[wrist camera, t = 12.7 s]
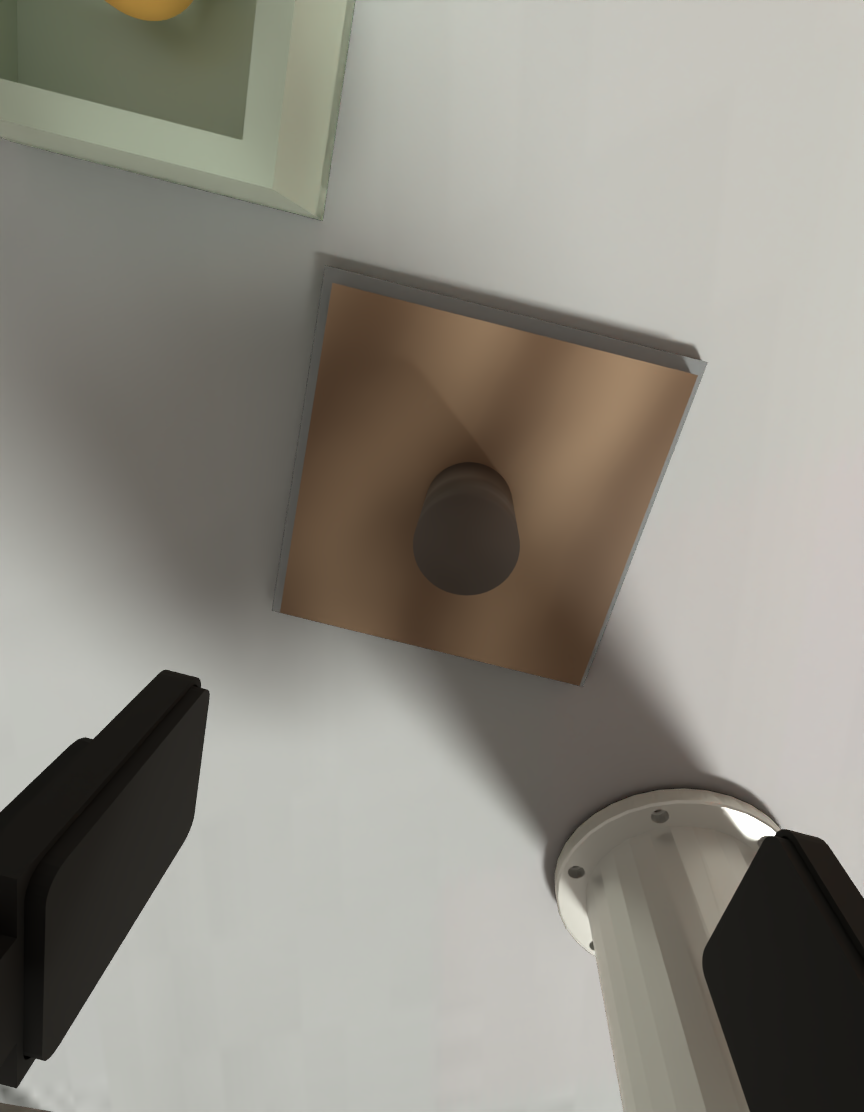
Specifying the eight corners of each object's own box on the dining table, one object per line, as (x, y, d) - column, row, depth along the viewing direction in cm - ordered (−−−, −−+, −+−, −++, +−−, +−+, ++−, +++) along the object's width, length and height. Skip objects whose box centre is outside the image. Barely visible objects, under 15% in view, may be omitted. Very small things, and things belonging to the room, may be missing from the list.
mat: (702, 361, 24) (707, 362, 23) (580, 679, 29) (582, 686, 29) (328, 266, 24) (325, 265, 23) (275, 605, 29) (271, 610, 29)
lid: (691, 373, 24) (753, 388, 18) (576, 676, 29) (599, 758, 23) (337, 283, 23) (293, 272, 18) (285, 604, 29) (239, 671, 23)
